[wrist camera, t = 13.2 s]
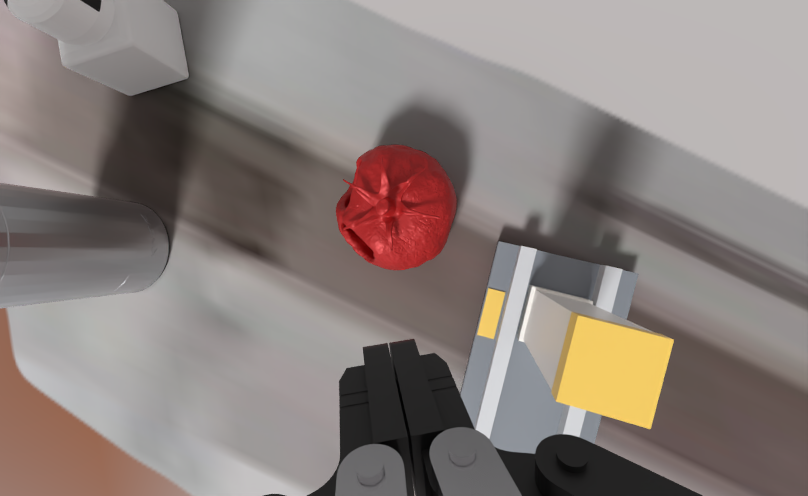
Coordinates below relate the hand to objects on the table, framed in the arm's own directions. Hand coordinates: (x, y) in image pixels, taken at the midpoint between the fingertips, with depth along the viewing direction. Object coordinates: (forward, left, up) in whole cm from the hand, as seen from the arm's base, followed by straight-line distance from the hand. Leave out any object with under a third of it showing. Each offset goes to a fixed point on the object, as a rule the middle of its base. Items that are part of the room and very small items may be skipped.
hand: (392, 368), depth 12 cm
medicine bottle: (-22, +31, -25) cm, 45 cm away
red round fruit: (-2, +8, -25) cm, 26 cm away
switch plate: (+4, -10, -24) cm, 27 cm away
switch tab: (+8, -4, -23) cm, 24 cm away
